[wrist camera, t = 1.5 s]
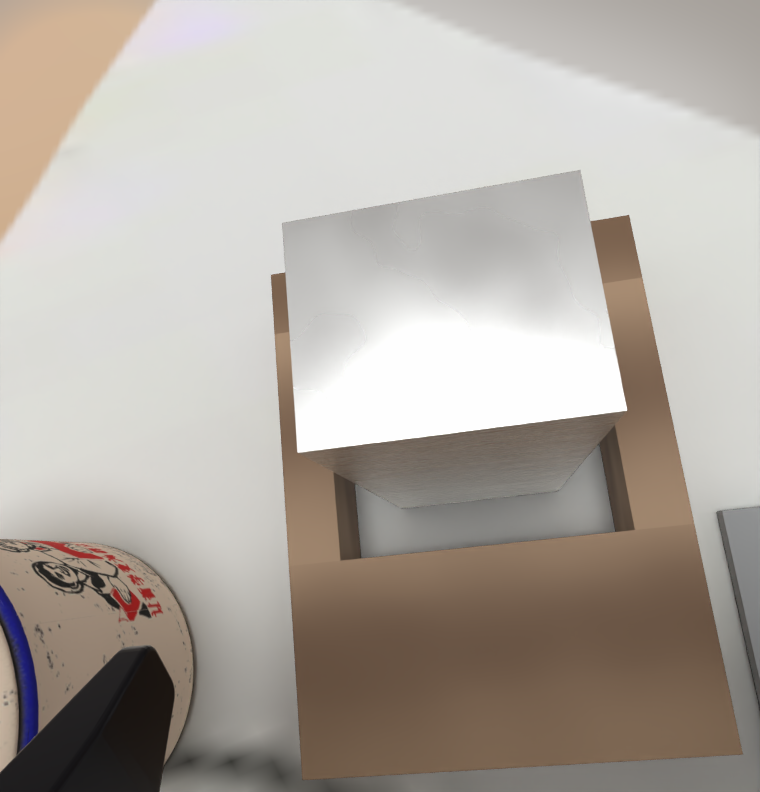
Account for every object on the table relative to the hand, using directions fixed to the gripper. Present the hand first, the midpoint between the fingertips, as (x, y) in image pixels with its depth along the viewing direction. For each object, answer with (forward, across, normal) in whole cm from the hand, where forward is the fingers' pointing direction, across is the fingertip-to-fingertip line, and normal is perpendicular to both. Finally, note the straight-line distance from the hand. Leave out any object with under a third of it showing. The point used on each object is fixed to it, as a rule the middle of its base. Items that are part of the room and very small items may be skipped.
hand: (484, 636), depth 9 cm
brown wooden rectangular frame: (+11, 0, +7) cm, 13 cm away
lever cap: (+12, 0, +6) cm, 14 cm away
